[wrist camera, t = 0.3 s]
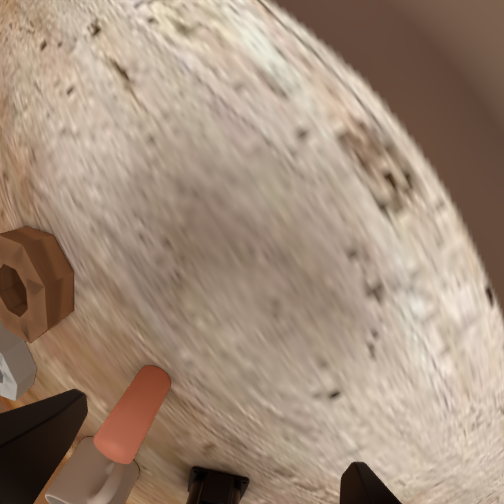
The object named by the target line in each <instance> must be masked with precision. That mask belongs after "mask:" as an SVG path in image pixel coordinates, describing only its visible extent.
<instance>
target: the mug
mask: <svg viewBox="0 0 504 504" xmlns="http://www.w3.org/2000/svg"><path fill="white" fill-rule="evenodd" d="M93 438H94V437H85V438H84V439H82V441H81V442H80V443H79V445H78V446H77V448H76V449H75V451H74V452H73V454H72V455H71V457H70V458H69V460H68V461H67V463H66V464H65V465H64V467H63V468H62V470H61V471H60V473H59V474H58V476H57V477H56V479H55V480H54V482H53V483H52V484H51V486H50V487H49V489H48V490H47V492H46V494H45V498H46V500H47V501H48V502H49V503H50V504H125V503H126V501H127V498H128V496H129V494H130V492H131V490H132V488H133V486H134V484H135V482H136V480H137V478H138V476H139V468H138V465H137V464H136V462H135V461H134V460H133V461H132V462H131V463H129V464H122V463H118V462H115V461H113V460H111V459H109V458H108V457H106V456H105V455H103V454H102V453H101V452H100V451H99V450H98V449H97V448H96V446H95V444H94V442H93Z"/></svg>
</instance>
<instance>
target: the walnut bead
mask: <svg viewBox="0 0 504 504" xmlns="http://www.w3.org/2000/svg"><path fill="white" fill-rule="evenodd" d="M73 311H74V271H73V269H72V268H71V266H70V264H69V263H68V261H67V259H66V257H65V256H64V254H63V252H62V250H61V248H60V246H59V245H58V243H57V241H56V239H55V237H54V235H52V234H49V233H46V232H43V231H39V230H36V229H33V228H30V227H23V228H19V229H16V230H12V231H8V232H4V233H1V234H0V320H1V322H2V323H3V325H4V327H5V328H6V329H7V330H9V331H10V332H12V333H14V334H15V335H17V336H18V337H20V338H22V339H23V340H25V341H27V342H28V343H32V342H33V341H34V340H36V339H37V338H38V337H40V336H41V335H42V334H44V333H45V332H47V331H48V330H49V329H51V328H52V327H54V326H55V325H56V324H57V323H59V322H60V321H61V320H62V319H64V318H65V317H66V316H68V315H69V314H70V313H71V312H73Z"/></svg>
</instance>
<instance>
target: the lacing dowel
mask: <svg viewBox="0 0 504 504" xmlns="http://www.w3.org/2000/svg"><path fill="white" fill-rule="evenodd" d="M170 387H171V380H170V378H169V376H168V375H167V373H166V372H165V371H163V370H162V369H160V368H158V367H156V366H151V365H149V366H144V367H143V368H142V369H141V370H140V372H139V373H138V374H137V376H136V377H135V379H134V380H133V382H132V383H131V384H130V386H129V387H128V389H127V390H126V392H125V393H124V394H123V396H122V397H121V399H120V400H119V402H118V403H117V404H116V406H115V407H114V409H113V410H112V412H111V413H110V415H109V416H108V418H107V419H106V420H105V422H104V423H103V425H102V426H101V428H100V429H99V431H98V432H97V434H96V435H95V437H94V438H93V442H94V444H95V446H96V448H97V449H98V450H99V451H100V452H101V453H102V454H103V455H105V456H106V457H108V458H109V459H111V460H113V461H115V462H118V463H122V464H129V463H131V462H132V461H133V459H134V457H135V455H136V453H137V451H138V449H139V447H140V445H141V443H142V441H143V439H144V437H145V435H146V433H147V432H148V430H149V428H150V426H151V424H152V422H153V420H154V418H155V416H156V414H157V412H158V410H159V408H160V406H161V404H162V402H163V400H164V398H165V396H166V395H167V393H168V391H169V389H170Z"/></svg>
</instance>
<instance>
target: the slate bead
mask: <svg viewBox="0 0 504 504" xmlns="http://www.w3.org/2000/svg"><path fill="white" fill-rule="evenodd" d="M36 370H37V367H36V365H35V363H34V360H33V358H32V356H31V354H30V351H29V349H28V347H27V344H26V342H25V340H23V339H22V338H20V337H18V336H17V335H15V334H14V333H12V332H10V331H9V330H7V329H6V328H5V327H4V325H3V323H2V322H1V320H0V396H3V397H6V398H9V399H11V400H14V401H16V400H17V399H18V398H19V397H20V396H21V395H23V394H24V393H25V392H26V391H27V390H28V389H29V388H30V387H31V386H32V385H33V384H34V380H35V375H36Z"/></svg>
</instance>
